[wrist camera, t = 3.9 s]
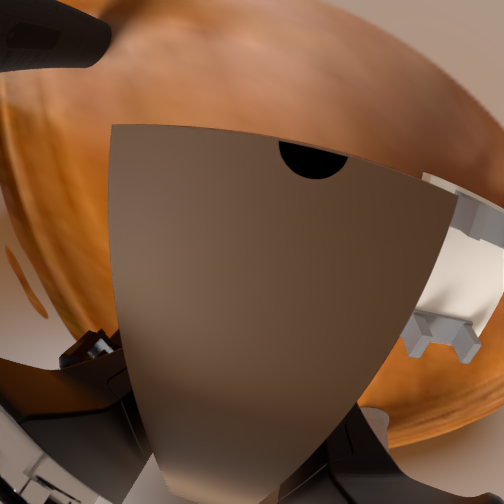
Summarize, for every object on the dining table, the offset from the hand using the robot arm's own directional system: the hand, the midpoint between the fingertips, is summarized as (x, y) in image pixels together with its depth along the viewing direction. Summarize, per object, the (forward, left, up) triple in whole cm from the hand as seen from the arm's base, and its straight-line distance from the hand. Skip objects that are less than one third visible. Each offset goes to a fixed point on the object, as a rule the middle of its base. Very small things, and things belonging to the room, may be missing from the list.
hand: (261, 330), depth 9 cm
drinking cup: (+14, +20, -11) cm, 27 cm away
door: (0, 0, -2) cm, 2 cm away
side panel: (0, -13, -11) cm, 17 cm away
